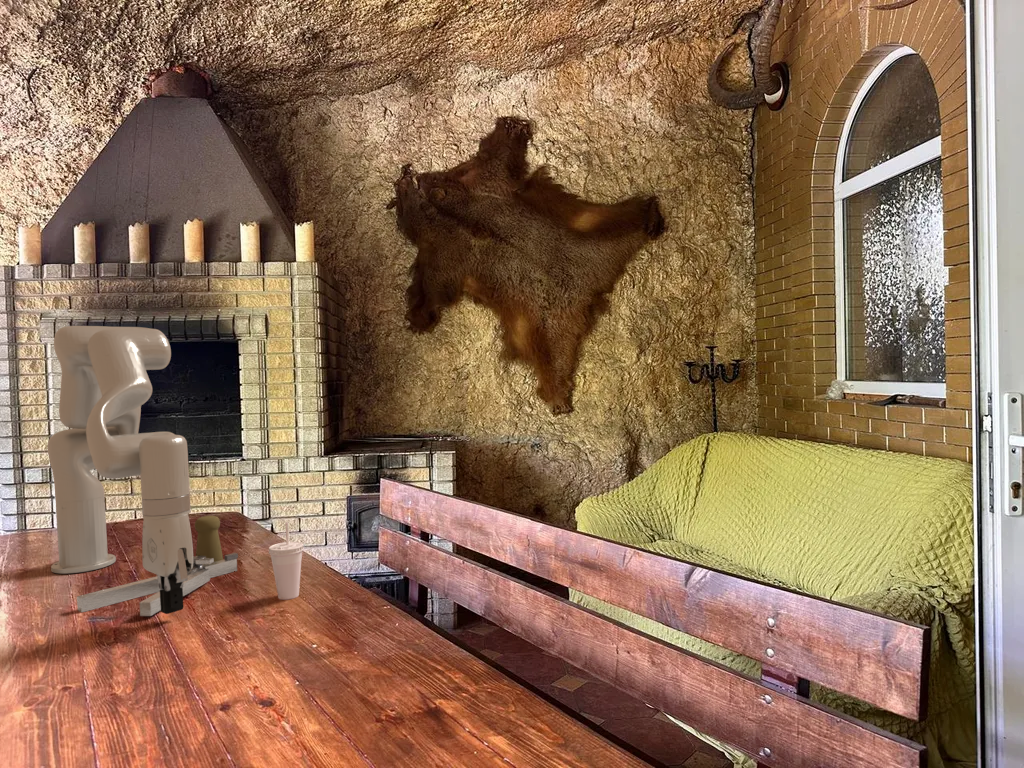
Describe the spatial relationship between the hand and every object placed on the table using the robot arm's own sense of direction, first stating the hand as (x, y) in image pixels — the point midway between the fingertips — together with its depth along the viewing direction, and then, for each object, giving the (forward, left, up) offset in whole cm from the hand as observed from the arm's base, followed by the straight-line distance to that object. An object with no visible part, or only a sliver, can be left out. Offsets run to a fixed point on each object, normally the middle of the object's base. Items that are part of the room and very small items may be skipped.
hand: (172, 610), depth 121 cm
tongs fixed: (-20, +7, -2) cm, 21 cm away
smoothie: (+6, +19, -2) cm, 20 cm away
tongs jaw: (-13, +6, -1) cm, 15 cm away
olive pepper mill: (-29, +21, -2) cm, 36 cm away
